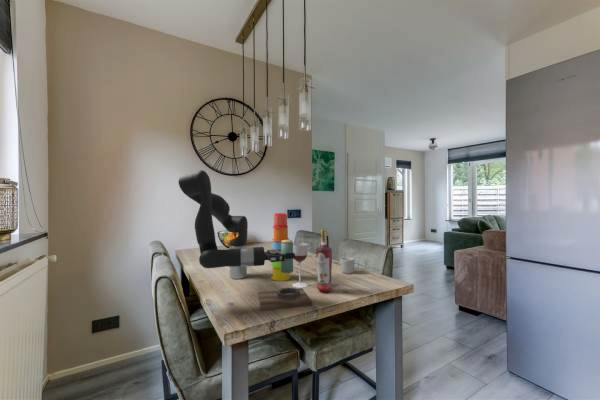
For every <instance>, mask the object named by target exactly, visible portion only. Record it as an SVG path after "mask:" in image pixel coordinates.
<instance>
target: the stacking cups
mask: <svg viewBox="0 0 600 400" xmlns="http://www.w3.org/2000/svg"><path fill="white" fill-rule="evenodd" d="M272 228H273V237H272V241H273V244H272V246H273V247H272V248H273V249H272V250H279V249H280V250H281V241H282V240H290V238H289V235H288V234H289V232H288V231H289V230H288V229H289V225H288V214H287V213H286V212H278V213H277V212H276V213H274V215H273V226H272ZM280 258H281V257H280ZM271 266H272V276H271V278H270V279H271V280H272V281H277V282H284V281H288V280H290V279H291V275H290V273H282V272H281V261H279V262H272V263H271Z"/></svg>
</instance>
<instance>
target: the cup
mask: <svg viewBox="0 0 600 400" xmlns="http://www.w3.org/2000/svg"><path fill="white" fill-rule="evenodd" d="M339 261H340V269H341V273H343V274H346V275H347V274H348V275H350V274H352V273H354V271H358V270H359V268H360V264H359V262H358V261H355V258H354V257H348V256H342V257H340V258H339ZM355 264H356V267H355Z"/></svg>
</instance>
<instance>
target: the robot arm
mask: <svg viewBox="0 0 600 400" xmlns="http://www.w3.org/2000/svg"><path fill="white" fill-rule="evenodd" d="M210 178H211V177H210V176H209V175H208V173H207V171H205V170H202V169H201V170H200V169H199V170H196V171H193V172H189V173H186V174H183V175H181V176H180V177H179V179H178V186H179V189H180V190H181V191H182V193H183V194H184V195H185V196H187V197H188V198H189V199H191V200H192V201H194V202H196V203H197V204H199V208H198V211H197V213H196V217H195V220H194V231H195V237H196V241H197V244H198V248H199V253H200V254H199V258H198V261H199V264H200V266H202V268H204V269H215V268H222V267H223V268H225V267H228V268H229V278H230V279H231V280H232V279H234V280H241V279H244V278H247V276H248V267H257V266H259V267H261V266H262V267H263V266H264V265H265V261H269V262H270V263H273V262H279V261H285V260H286V259H293V260H294V258H295V253H281V250H280V249H279V250H273V249H267V251H265V247H264V246H251V247H250V246H249V247H247V246H248V245H247V241H248V227H249V226H248V225H249V224H248V219H247V216H244V215H231V214H230V211H231V210H230V209H231V207H230V205H229V202H227V200H225V199H224V198H223V197H222V196H221V195H219V194H215V193H213V192H212V184H211V179H210ZM213 217H214V218H215V219H216V220H217V221H218V222H219V223H220V224H221V225H222V226H223V227H224V228H225V230H226V231H227V232H229V233H233V234H235V233H236V234H237V237H235V238H232V239H230V240H229V242H228V244H229V246H228V247H229V248H228V249H218V246H217V242H216V232H215V227H214V222H213ZM281 256H282V258H280V257H281Z"/></svg>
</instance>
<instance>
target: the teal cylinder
mask: <svg viewBox="0 0 600 400" xmlns="http://www.w3.org/2000/svg"><path fill="white" fill-rule="evenodd" d="M293 243H294V241H293V240H292V239H289V240H282V241H281V253H293ZM281 258H282V256H281ZM281 272H282V273H289V274H292V273H293V272H294V259H286V260H285V261H281Z"/></svg>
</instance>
